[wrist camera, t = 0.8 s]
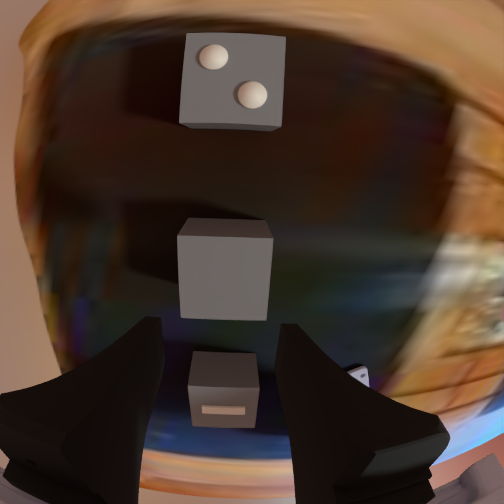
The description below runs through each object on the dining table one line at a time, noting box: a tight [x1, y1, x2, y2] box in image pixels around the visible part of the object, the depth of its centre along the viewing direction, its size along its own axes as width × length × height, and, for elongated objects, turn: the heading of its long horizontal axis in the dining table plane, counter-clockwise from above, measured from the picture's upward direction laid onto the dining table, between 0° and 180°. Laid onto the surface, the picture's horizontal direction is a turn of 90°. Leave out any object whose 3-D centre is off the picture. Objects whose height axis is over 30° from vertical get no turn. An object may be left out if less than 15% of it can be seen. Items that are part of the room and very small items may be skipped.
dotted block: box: [179, 33, 286, 131], centre depth 14 cm, size 5×5×4 cm
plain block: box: [177, 218, 273, 320], centre depth 18 cm, size 5×5×4 cm
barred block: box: [188, 351, 260, 428], centre depth 21 cm, size 5×5×4 cm
